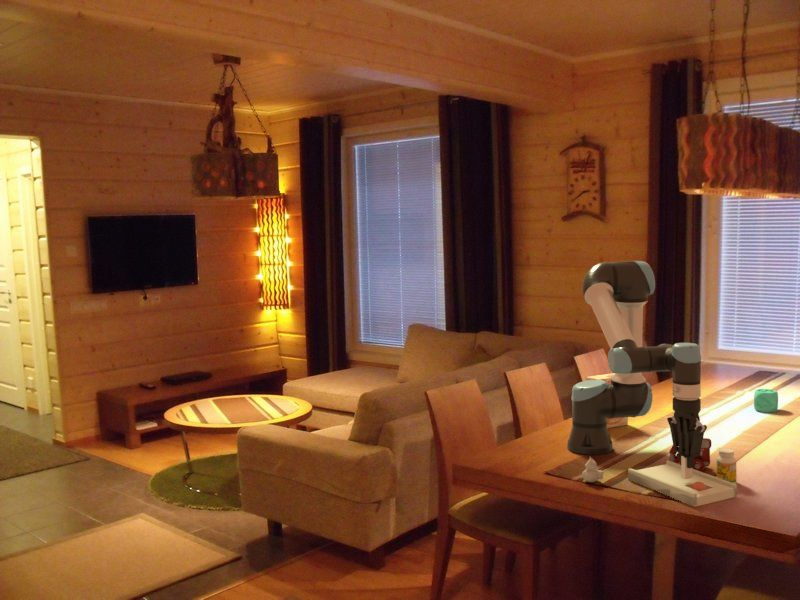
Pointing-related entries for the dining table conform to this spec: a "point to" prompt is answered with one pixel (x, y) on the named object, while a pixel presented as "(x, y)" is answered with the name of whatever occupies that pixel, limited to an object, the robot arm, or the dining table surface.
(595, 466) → the white figurine
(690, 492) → the board
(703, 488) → the ball
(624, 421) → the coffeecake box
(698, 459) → the toy fire truck
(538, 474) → the dining table surface
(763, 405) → the decorative dice
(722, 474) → the supplement bottle
